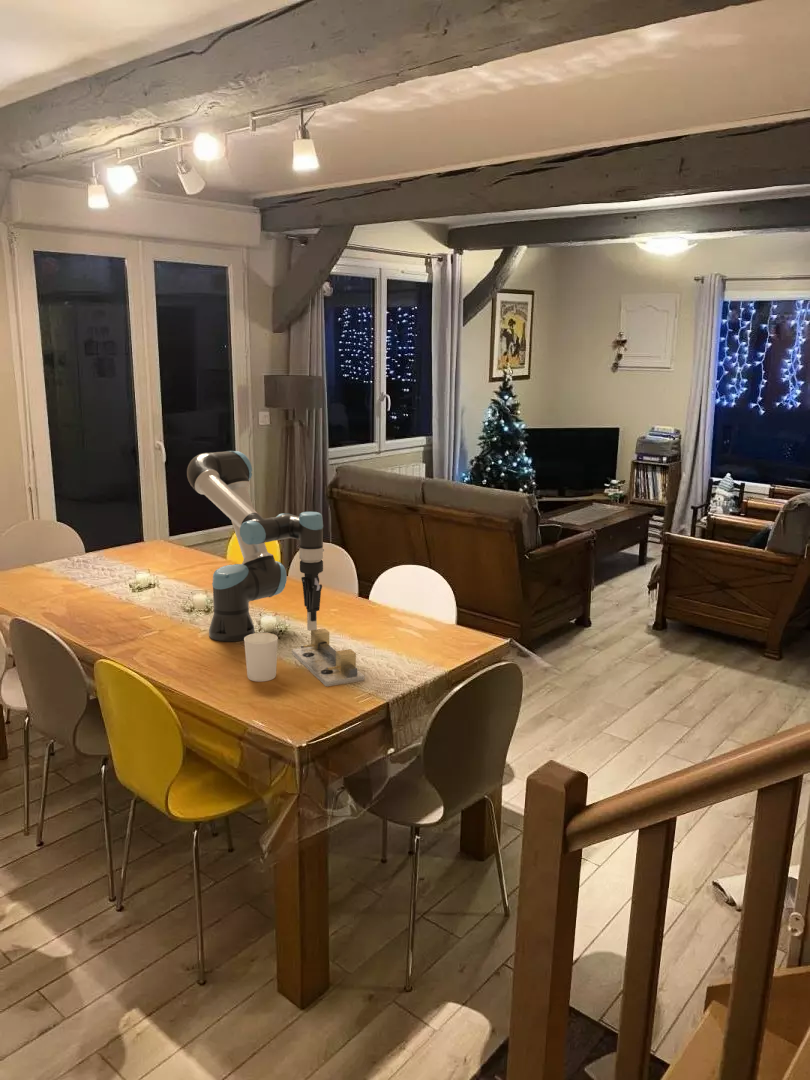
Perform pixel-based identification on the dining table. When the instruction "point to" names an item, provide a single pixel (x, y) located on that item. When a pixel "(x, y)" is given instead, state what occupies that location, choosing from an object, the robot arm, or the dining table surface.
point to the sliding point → (318, 638)
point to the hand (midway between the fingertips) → (312, 629)
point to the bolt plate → (329, 664)
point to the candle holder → (261, 656)
